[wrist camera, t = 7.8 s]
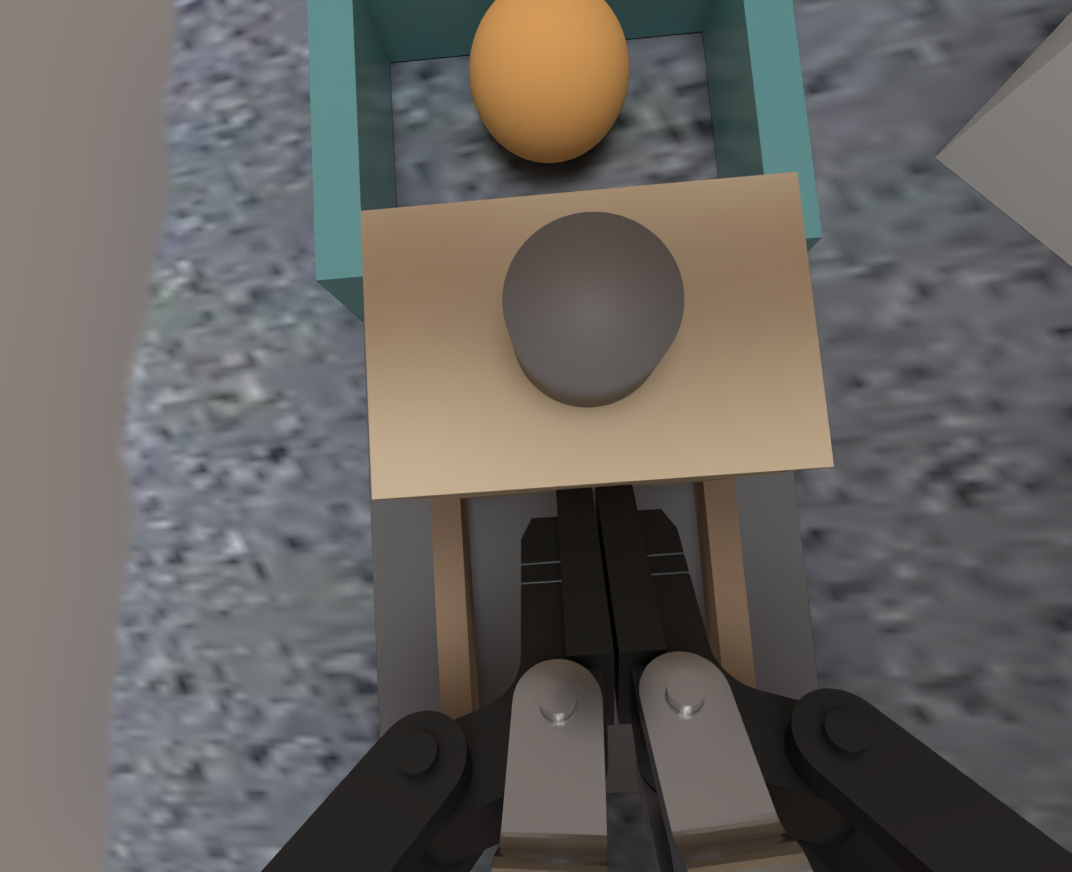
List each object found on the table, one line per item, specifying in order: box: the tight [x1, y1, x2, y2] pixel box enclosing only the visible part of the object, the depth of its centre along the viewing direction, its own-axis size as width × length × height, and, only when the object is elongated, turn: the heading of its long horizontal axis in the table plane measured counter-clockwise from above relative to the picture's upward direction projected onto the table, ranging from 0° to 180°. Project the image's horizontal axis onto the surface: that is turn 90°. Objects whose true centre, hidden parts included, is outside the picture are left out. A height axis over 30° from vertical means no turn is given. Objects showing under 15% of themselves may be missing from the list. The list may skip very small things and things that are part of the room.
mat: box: [363, 315, 819, 793], centre depth 17 cm, size 14×12×1 cm
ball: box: [469, 0, 629, 163], centre depth 16 cm, size 4×4×4 cm
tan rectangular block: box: [360, 172, 834, 499], centre depth 12 cm, size 4×6×10 cm, turn 94°
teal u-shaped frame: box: [307, 0, 822, 321], centre depth 17 cm, size 10×12×4 cm
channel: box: [430, 478, 756, 720], centre depth 16 cm, size 12×8×1 cm, turn 4°
